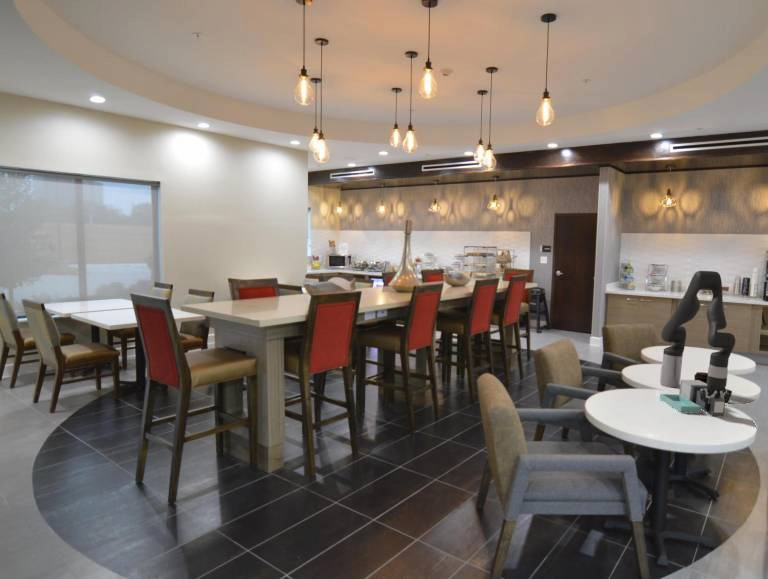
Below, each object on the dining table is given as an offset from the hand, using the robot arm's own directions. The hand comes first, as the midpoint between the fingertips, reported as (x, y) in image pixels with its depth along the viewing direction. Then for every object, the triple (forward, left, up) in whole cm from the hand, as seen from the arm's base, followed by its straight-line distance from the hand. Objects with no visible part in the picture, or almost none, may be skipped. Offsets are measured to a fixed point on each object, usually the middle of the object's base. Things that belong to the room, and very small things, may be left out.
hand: (713, 410), depth 235 cm
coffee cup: (-23, +9, -2) cm, 25 cm away
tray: (-9, -10, -1) cm, 14 cm away
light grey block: (-15, 0, -1) cm, 15 cm away
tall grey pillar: (-3, 0, -1) cm, 4 cm away
